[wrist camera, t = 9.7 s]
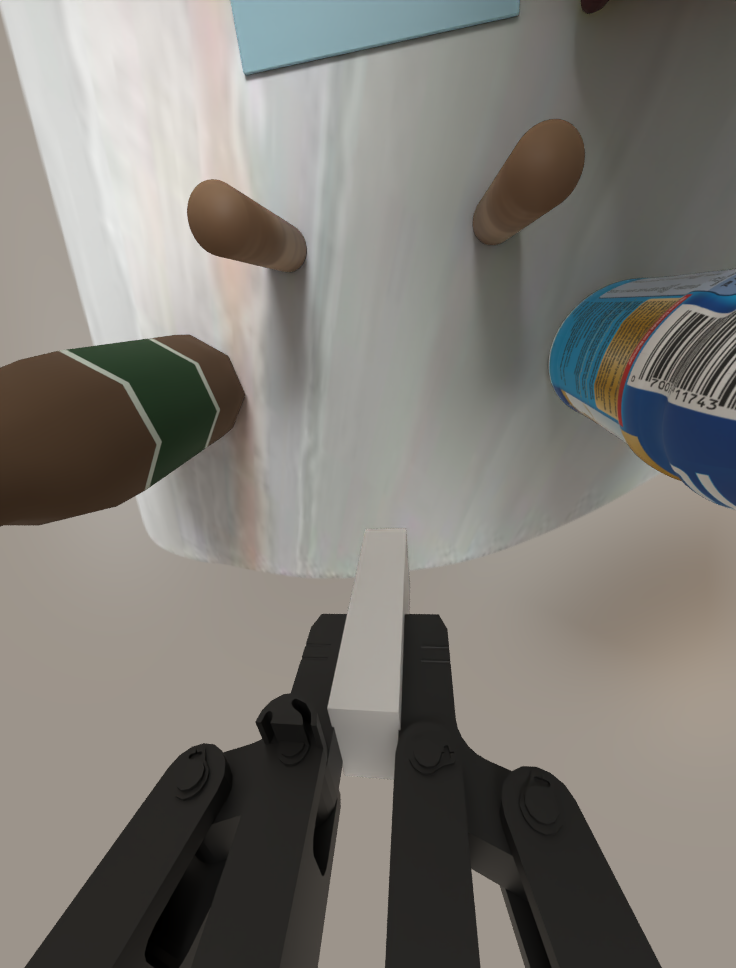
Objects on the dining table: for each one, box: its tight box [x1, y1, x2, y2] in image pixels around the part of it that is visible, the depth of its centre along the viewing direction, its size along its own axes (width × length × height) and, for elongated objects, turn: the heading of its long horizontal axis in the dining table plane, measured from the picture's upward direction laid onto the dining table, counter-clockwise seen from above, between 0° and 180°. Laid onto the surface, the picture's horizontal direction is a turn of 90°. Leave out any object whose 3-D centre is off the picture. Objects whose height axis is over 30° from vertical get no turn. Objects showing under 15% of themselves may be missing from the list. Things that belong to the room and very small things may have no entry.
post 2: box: [473, 119, 585, 245], centre depth 17 cm, size 3×3×9 cm
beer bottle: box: [0, 335, 245, 526], centre depth 17 cm, size 8×8×24 cm
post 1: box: [187, 179, 306, 272], centre depth 19 cm, size 3×3×9 cm
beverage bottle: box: [549, 268, 736, 510], centre depth 15 cm, size 8×8×20 cm
